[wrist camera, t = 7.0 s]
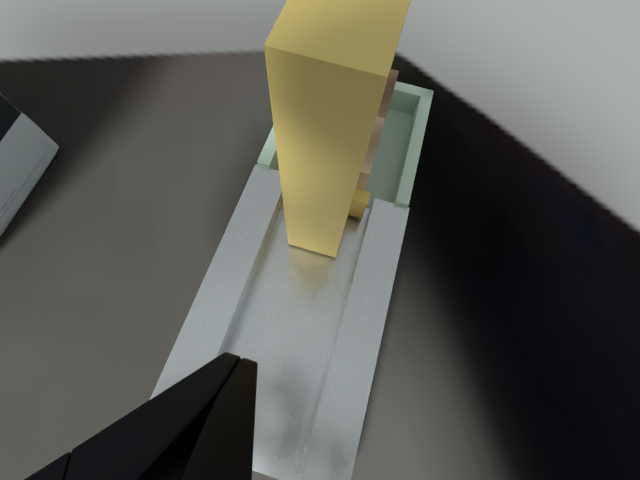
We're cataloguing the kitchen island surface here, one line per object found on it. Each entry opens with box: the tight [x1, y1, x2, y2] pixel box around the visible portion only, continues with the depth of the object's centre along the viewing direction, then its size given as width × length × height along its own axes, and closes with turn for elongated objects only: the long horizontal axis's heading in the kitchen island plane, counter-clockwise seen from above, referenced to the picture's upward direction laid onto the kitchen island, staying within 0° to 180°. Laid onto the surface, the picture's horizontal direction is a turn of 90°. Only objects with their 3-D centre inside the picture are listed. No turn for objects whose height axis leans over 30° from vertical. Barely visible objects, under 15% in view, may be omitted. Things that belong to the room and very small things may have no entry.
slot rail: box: [150, 164, 410, 480], centre depth 18 cm, size 16×10×3 cm, turn 163°
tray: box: [257, 81, 434, 209], centre depth 23 cm, size 10×10×3 cm
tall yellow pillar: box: [264, 0, 410, 258], centre depth 14 cm, size 4×5×13 cm
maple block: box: [356, 117, 385, 190], centre depth 20 cm, size 4×4×4 cm
